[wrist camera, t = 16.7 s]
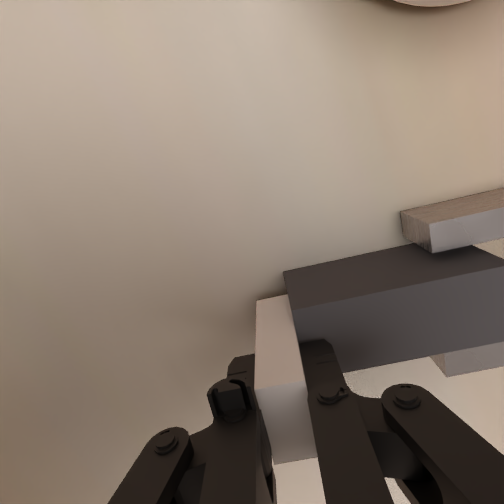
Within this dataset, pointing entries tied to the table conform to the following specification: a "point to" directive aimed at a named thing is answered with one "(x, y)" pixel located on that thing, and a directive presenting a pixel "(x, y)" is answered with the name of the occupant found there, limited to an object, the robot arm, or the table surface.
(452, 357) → the clip
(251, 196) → the table surface
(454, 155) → the table surface
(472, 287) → the charcoal brick
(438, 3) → the cup
